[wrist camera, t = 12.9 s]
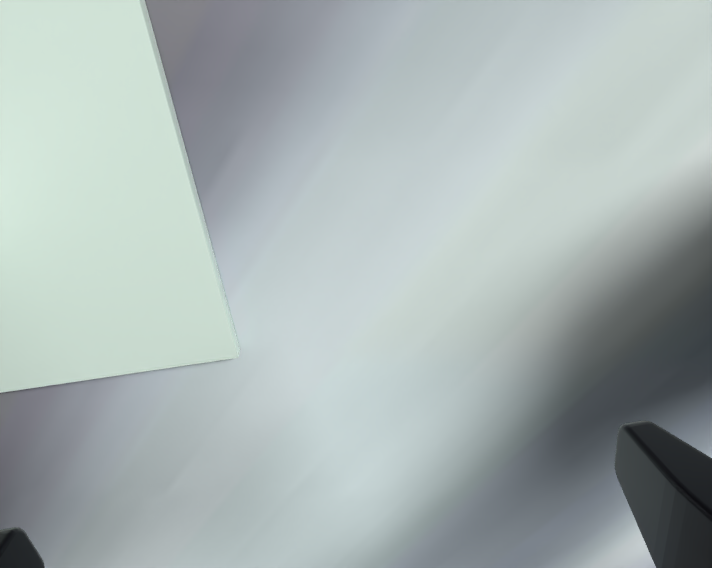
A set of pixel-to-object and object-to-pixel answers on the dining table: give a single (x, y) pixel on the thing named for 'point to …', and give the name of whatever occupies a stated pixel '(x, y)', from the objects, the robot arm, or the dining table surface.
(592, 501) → the dining table surface
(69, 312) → the pad
